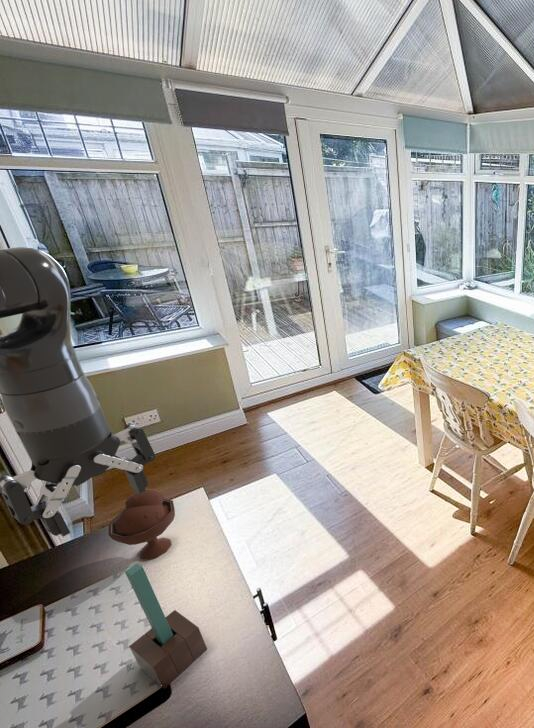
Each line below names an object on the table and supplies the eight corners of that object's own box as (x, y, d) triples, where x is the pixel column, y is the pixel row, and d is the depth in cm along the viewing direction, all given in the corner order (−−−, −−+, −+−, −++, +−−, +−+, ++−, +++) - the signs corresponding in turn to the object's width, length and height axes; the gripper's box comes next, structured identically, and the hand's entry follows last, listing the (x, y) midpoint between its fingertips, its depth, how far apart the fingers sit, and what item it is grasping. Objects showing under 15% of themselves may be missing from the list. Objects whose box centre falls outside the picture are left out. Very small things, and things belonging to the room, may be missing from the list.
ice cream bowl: (133, 538, 93) (109, 486, 87) (192, 523, 97) (174, 473, 91) (113, 578, 84) (86, 523, 78) (180, 560, 88) (158, 507, 82)
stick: (172, 665, 70) (130, 575, 61) (167, 660, 70) (124, 571, 62) (183, 656, 71) (142, 567, 62) (177, 651, 72) (137, 562, 63)
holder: (164, 689, 67) (152, 666, 64) (140, 668, 69) (128, 646, 67) (207, 649, 72) (198, 627, 70) (184, 631, 75) (174, 609, 72)
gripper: (112, 382, 59) (147, 472, 65) (-42, 434, 47) (19, 538, 53) (141, 395, 56) (175, 488, 62) (-14, 453, 44) (47, 561, 50)
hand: (103, 511), depth 58 cm, fingers open, 8 cm apart
